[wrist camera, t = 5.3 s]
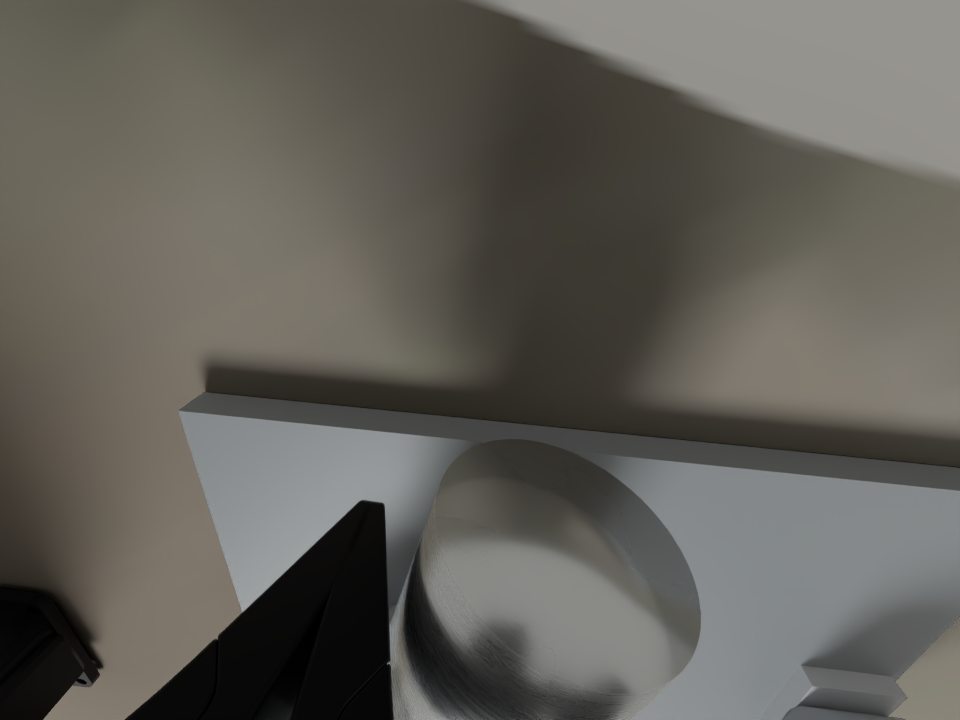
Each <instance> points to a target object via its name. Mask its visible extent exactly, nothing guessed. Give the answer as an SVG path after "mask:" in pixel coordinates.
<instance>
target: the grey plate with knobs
mask: <svg viewBox="0 0 960 720" xmlns="http://www.w3.org/2000/svg"><path fill="white" fill-rule="evenodd" d="M178 413H179V416H180V419H181V422H182V425H183V428H184V431H185V434H186V438H187V441H188V444H189V447H190V450H191V453H192V456H193V459H194V463H195V466H196V469H197V472H198V475H199V478H200V481H201V484H202V488H203V491H204V494H205V497H206V500H207V503H208V506H209V509H210V513H211V516H212V519H213V522H214V525H215V528H216V531H217V535H218V538H219V541H220V544H221V547H222V550H223V553H224V556H225V560H226V563H227V566H228V569H229V572H230V575H231V578H232V581H233V585H234V588H235V591H236V594H237V597H238V600H239V603H240V606H241V610H242V612H243V611H244V610H246V609H247V608H248V607H249V606H250V605H251V604H252V603H253V602H254V601H255V600H256V599H257V598H258V597H259V596H260V595H261V594H262V593H263V592H264V591H265V590H267V589H268V588H269V587H270V586H271V585H272V584H273V583H274V582H275V581H276V580H277V579H278V578H279V577H280V576H281V575H282V574H283V573H284V572H285V571H286V570H288V569H289V568H290V567H291V566H292V565H293V564H294V563H295V562H296V561H297V560H298V559H299V558H300V557H301V556H302V555H303V554H304V553H305V552H306V551H307V550H309V549H310V548H311V547H312V546H313V545H314V544H315V543H316V542H317V541H318V540H319V539H320V538H321V537H322V536H323V535H324V534H325V533H326V532H327V531H328V530H330V529H331V528H332V527H333V526H334V525H335V524H336V523H337V522H338V521H339V520H340V519H341V518H342V517H343V516H344V515H345V514H346V513H347V512H348V511H350V510H351V509H352V508H353V507H354V506H355V505H356V504H357V503H358V502H359V501H361V500H368V501H375V502H382V503H384V504H385V521H386V548H387V575H388V603H389V625H390V622H391V620H392V617H393V614H394V611H395V608H396V606H397V603H398V600H399V597H400V594H401V592H402V589H403V586H404V583H405V580H406V578H407V575H408V572H409V569H410V566H411V564H412V561H413V558H414V555H415V552H416V550H417V547H418V544H419V541H420V538H421V536H422V533H423V530H424V527H425V524H426V522H427V519H428V516H429V513H430V510H431V508H432V505H433V502H434V499H435V496H436V493H437V491H438V488H439V485H440V482H441V480H442V478H443V476H444V474H445V472H446V470H447V469H448V468H449V466H450V465H451V464H452V463H453V461H454V460H455V459H457V458H458V457H459V456H460V455H461V454H462V453H464V452H465V451H467V450H469V449H470V448H472V447H474V446H477V445H479V444H482V443H485V442H489V441H493V440H501V439H523V440H532V441H537V442H542V443H546V444H550V445H553V446H556V447H559V448H562V449H565V450H567V451H570V452H572V453H574V454H577V455H579V456H581V457H583V458H585V459H587V460H589V461H591V462H592V463H594V464H596V465H597V466H599V467H601V468H602V469H604V470H606V471H607V472H608V473H610V474H611V475H613V476H614V477H616V478H617V479H618V480H620V481H621V482H622V483H623V484H625V485H626V486H627V487H628V488H630V489H631V490H632V491H633V492H634V493H635V494H636V495H637V496H638V497H640V498H641V499H642V500H643V502H644V503H645V504H646V505H647V506H648V507H649V508H650V509H651V510H652V511H653V512H654V513H655V514H656V516H657V517H658V518H659V519H660V520H661V522H662V523H663V524H664V526H665V527H666V528H667V530H668V531H669V532H670V534H671V535H672V537H673V538H674V540H675V541H676V543H677V545H678V546H679V548H680V550H681V551H682V553H683V555H684V557H685V559H686V561H687V563H688V565H689V568H690V570H691V573H692V576H693V578H694V581H695V584H696V588H697V592H698V596H699V602H700V609H701V631H700V636H699V641H698V645H697V648H696V650H695V652H694V654H693V657H692V659H691V660H690V662H689V663H688V664H687V666H686V667H685V668H684V670H683V671H682V672H681V673H680V674H679V675H678V676H677V677H676V678H675V679H674V680H673V681H672V682H671V683H670V684H669V685H668V686H667V687H666V688H665V689H664V690H663V691H661V692H660V693H659V694H658V695H657V696H656V697H655V698H654V699H653V700H652V701H651V702H650V703H649V704H648V705H647V706H646V707H645V708H644V709H643V710H642V711H641V712H640V713H639V714H638V715H637V716H636V717H635V718H634V719H633V720H905V719H902V718H894V717H888V716H889V715H890V714H891V713H892V712H893V711H894V710H895V709H897V708H898V707H899V706H900V705H901V704H902V703H903V702H904V701H905V700H906V699H907V696H906V695H905V694H904V692H903V691H902V690H901V688H900V687H899V686H898V684H897V683H896V682H895V681H896V680H897V679H898V678H899V677H900V676H901V675H902V674H903V673H904V672H905V671H906V670H907V669H908V668H909V667H910V666H911V665H912V664H913V663H914V662H915V661H916V660H917V659H918V658H919V657H920V656H921V655H922V654H923V653H924V652H925V651H926V650H927V649H928V648H929V647H930V646H931V645H932V644H933V643H934V642H935V640H936V639H937V638H938V637H939V636H940V635H941V634H942V633H943V632H944V631H945V630H946V629H947V628H948V627H949V626H950V625H951V624H952V623H953V622H954V621H955V620H956V619H957V618H958V617H959V616H960V468H955V467H945V466H935V465H926V464H916V463H906V462H896V461H886V460H876V459H866V458H856V457H846V456H836V455H826V454H816V453H806V452H796V451H786V450H776V449H766V448H756V447H746V446H736V445H726V444H716V443H706V442H696V441H686V440H676V439H666V438H656V437H646V436H636V435H626V434H616V433H606V432H596V431H587V430H577V429H567V428H557V427H547V426H537V425H527V424H517V423H507V422H497V421H487V420H477V419H467V418H457V417H447V416H437V415H427V414H417V413H407V412H397V411H387V410H377V409H367V408H357V407H347V406H337V405H327V404H317V403H307V402H297V401H287V400H277V399H267V398H257V397H247V396H238V395H228V394H218V393H208V392H204V393H202V394H201V395H199V396H198V397H197V398H195V399H194V400H192V401H191V402H190V403H188V404H187V405H185V406H184V407H183V408H181V409H180V410H178Z"/></svg>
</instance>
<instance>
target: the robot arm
mask: <svg viewBox="0 0 960 720" xmlns="http://www.w3.org/2000/svg"><path fill="white" fill-rule="evenodd" d="M390 661H391V658H390V630H389V603H388V575H387V548H386V521H385V504H384V503H382V502H375V501H368V500H361V501H359V502H358V503H357V504H356V505H355V506H354V507H353V508H352V509H351V510H350V511H348V512H347V513H346V514H345V515H344V516H343V517H342V518H341V519H340V520H339V521H338V522H337V523H336V524H335V525H334V526H333V527H332V528H331V529H330V530H328V531H327V532H326V533H325V534H324V535H323V536H322V537H321V538H320V539H319V540H318V541H317V542H316V543H315V544H314V545H313V546H312V547H311V548H310V549H309V550H307V551H306V552H305V553H304V554H303V555H302V556H301V557H300V558H299V559H298V560H297V561H296V562H295V563H294V564H293V565H292V566H291V567H290V568H289V569H288V570H286V571H285V572H284V573H283V574H282V575H281V576H280V577H279V578H278V579H277V580H276V581H275V582H274V583H273V584H272V585H271V586H270V587H269V588H268V589H267V590H265V591H264V592H263V593H262V594H261V595H260V596H259V597H258V598H257V599H256V600H255V601H254V602H253V603H252V604H251V605H250V606H249V607H248V608H247V609H246V610H244V611H243V612H242V613H241V614H240V615H239V616H238V617H237V618H236V619H235V620H234V621H233V622H232V623H231V624H230V625H229V626H228V627H227V628H226V629H225V630H223V631H222V632H221V633H220V634H219V636H218V640H217V639H214V640H213V641H212V642H211V643H210V644H208V645H207V646H206V647H205V648H204V649H203V650H202V651H201V652H200V653H199V654H198V655H197V656H196V657H195V658H194V659H193V660H192V661H191V662H190V663H188V664H187V665H186V666H185V667H184V668H183V669H182V670H181V671H180V672H179V673H178V674H176V675H175V676H174V677H173V678H172V679H171V680H170V681H169V682H168V683H167V684H166V685H164V686H163V687H162V688H161V689H160V690H159V691H158V692H157V693H155V694H154V695H153V696H152V697H151V698H150V699H148V700H147V701H146V702H145V703H144V704H143V705H141V706H140V707H139V708H138V709H137V710H135V711H134V712H133V713H132V714H131V715H130V716H128V717H127V718H126V719H125V720H394V713H393V699H392V679H391V665H390ZM99 676H100V674H99V672H98V670H97V669H96V667H95V666H94V664H93V663H92V661H91V659H90V658H89V656H88V655H87V653H86V652H85V650H84V649H83V647H82V646H81V644H80V643H79V641H78V640H77V638H76V636H75V635H74V633H73V632H72V630H71V629H70V627H69V626H68V624H67V623H66V621H65V620H64V618H63V616H62V615H61V613H60V612H59V610H58V609H57V607H56V606H55V604H54V603H53V601H52V600H51V599H50V598H48V597H47V596H44V595H42V594H38V593H32V592H24V591H16V590H7V589H0V720H43V719H44V718H45V716H46V715H47V714H48V713H49V712H50V711H51V709H52V708H53V707H54V706H55V705H56V704H57V702H58V701H59V700H60V699H61V698H62V697H63V696H64V694H65V693H66V692H67V691H68V690H69V689H70V687H71V686H72V685H73V686H81V687H91V686H92V685H93V684H94V682H95V681H96V680H97V679H98V677H99Z"/></svg>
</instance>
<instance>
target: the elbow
mask: <svg viewBox="0 0 960 720" xmlns="http://www.w3.org/2000/svg"><path fill="white" fill-rule="evenodd" d="M389 630H390V658H391V661H390V665H391V679H392V699H393V713H394V720H633V719H634V718H635V717H636V716H637V715H638V714H639V713H640V712H641V711H642V710H643V709H644V708H645V707H646V706H647V705H648V704H649V703H650V702H651V701H652V700H653V699H654V698H655V697H656V696H657V695H658V694H659V693H660V692H661V691H663V690H664V689H665V688H666V687H667V686H668V685H669V684H670V683H671V682H672V681H673V680H674V679H675V678H676V677H677V676H678V675H679V674H680V673H681V672H682V671H683V670H684V668H685V667H686V666H687V664H688V663H689V662H690V660H691V659H692V657H693V654H694V652H695V650H696V648H697V645H698V641H699V636H700V631H701V609H700V602H699V596H698V592H697V588H696V584H695V581H694V578H693V576H692V573H691V570H690V568H689V565H688V563H687V561H686V559H685V557H684V555H683V553H682V551H681V550H680V548H679V546H678V545H677V543H676V541H675V540H674V538H673V537H672V535H671V534H670V532H669V531H668V530H667V528H666V527H665V526H664V524H663V523H662V522H661V520H660V519H659V518H658V517H657V516H656V514H655V513H654V512H653V511H652V510H651V509H650V508H649V507H648V506H647V505H646V504H645V503H644V502H643V500H642V499H641V498H640V497H638V496H637V495H636V494H635V493H634V492H633V491H632V490H631V489H630V488H628V487H627V486H626V485H625V484H623V483H622V482H621V481H620V480H618V479H617V478H616V477H614V476H613V475H611V474H610V473H608V472H607V471H606V470H604V469H602V468H601V467H599V466H597V465H596V464H594V463H592V462H591V461H589V460H587V459H585V458H583V457H581V456H579V455H577V454H574V453H572V452H570V451H567V450H565V449H562V448H559V447H556V446H553V445H550V444H546V443H542V442H537V441H532V440H523V439H501V440H493V441H489V442H485V443H482V444H479V445H477V446H474V447H472V448H470V449H469V450H467V451H465V452H464V453H462V454H461V455H460V456H459V457H458V458H457V459H455V460H454V461H453V463H452V464H451V465H450V466H449V468H448V469H447V470H446V472H445V474H444V476H443V478H442V480H441V482H440V485H439V488H438V491H437V493H436V496H435V499H434V502H433V505H432V508H431V510H430V513H429V516H428V519H427V522H426V524H425V527H424V530H423V533H422V536H421V538H420V541H419V544H418V547H417V550H416V552H415V555H414V558H413V561H412V564H411V566H410V569H409V572H408V575H407V578H406V580H405V583H404V586H403V589H402V592H401V594H400V597H399V600H398V603H397V606H396V608H395V611H394V614H393V617H392V620H391V622H390V625H389Z"/></svg>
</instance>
